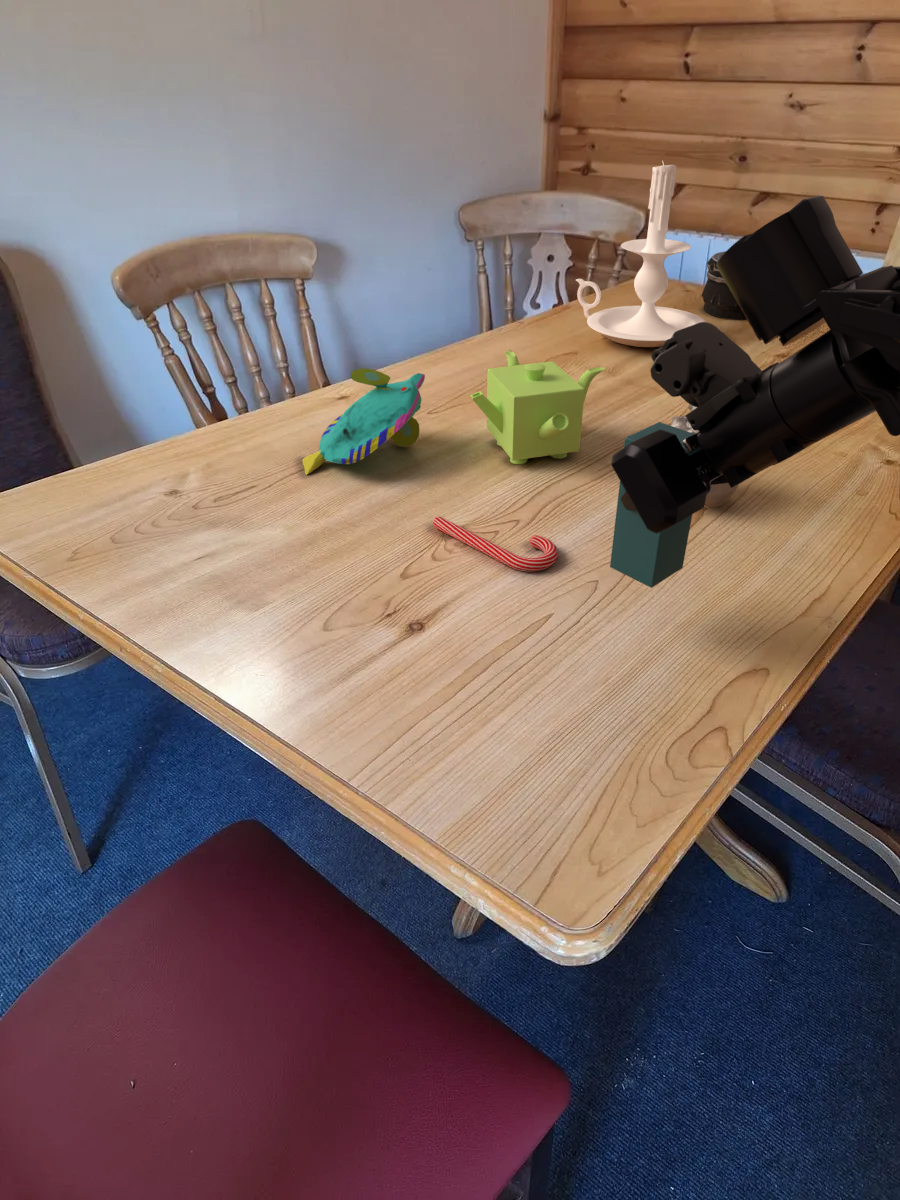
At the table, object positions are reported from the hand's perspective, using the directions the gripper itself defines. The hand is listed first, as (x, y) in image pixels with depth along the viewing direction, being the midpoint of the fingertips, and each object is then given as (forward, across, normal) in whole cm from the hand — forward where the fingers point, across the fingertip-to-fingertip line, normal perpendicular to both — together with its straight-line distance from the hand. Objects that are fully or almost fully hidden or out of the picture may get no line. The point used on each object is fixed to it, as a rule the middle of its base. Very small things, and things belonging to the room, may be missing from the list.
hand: (642, 494), depth 64 cm
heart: (+16, -24, +3) cm, 30 cm away
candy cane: (+23, -1, -3) cm, 23 cm away
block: (+4, 0, +6) cm, 7 cm away
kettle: (+32, -22, -13) cm, 41 cm away
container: (+44, -95, -24) cm, 107 cm away
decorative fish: (+42, -4, -22) cm, 47 cm away
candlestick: (+46, -68, -27) cm, 87 cm away
